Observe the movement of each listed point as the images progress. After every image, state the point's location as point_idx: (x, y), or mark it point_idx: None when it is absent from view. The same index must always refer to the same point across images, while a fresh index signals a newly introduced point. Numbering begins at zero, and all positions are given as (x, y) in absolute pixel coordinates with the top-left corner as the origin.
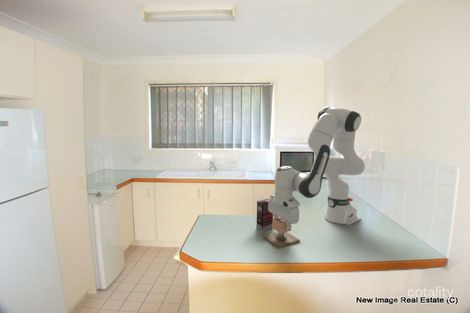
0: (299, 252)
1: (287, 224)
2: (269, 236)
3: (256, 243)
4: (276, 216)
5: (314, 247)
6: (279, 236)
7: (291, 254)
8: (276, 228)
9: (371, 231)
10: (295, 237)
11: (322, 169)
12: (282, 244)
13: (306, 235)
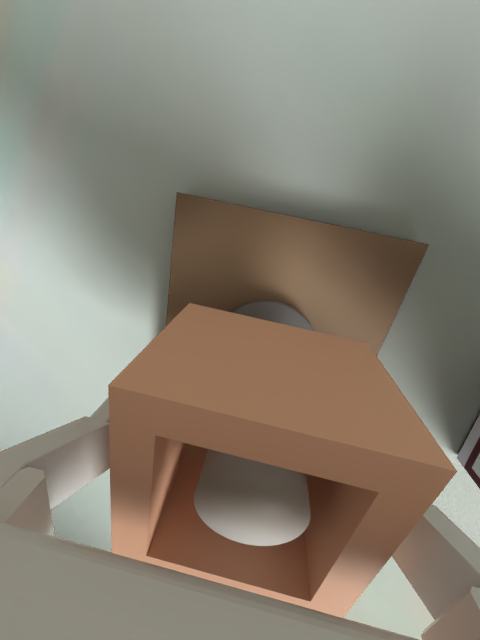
0: (59, 286)
1: (37, 441)
2: (361, 289)
3: (397, 76)
4: (445, 596)
5: (75, 404)
6: None
7: (55, 213)
8: (271, 336)
9: None
10: None
11: None
12: (172, 258)
13: None
